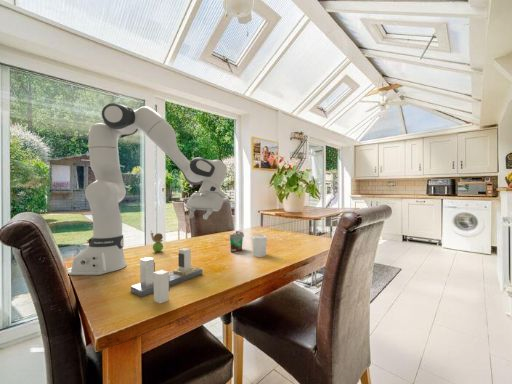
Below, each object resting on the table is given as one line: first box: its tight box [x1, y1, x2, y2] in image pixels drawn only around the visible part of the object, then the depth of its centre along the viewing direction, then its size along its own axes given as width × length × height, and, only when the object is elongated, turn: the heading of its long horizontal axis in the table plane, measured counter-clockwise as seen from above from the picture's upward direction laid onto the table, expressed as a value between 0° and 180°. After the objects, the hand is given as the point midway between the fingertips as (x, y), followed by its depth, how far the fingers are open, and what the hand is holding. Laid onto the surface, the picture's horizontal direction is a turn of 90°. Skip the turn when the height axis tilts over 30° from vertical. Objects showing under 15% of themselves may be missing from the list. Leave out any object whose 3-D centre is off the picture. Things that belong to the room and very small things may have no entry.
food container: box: [229, 230, 245, 253], centre depth 138 cm, size 12×6×10 cm, turn 168°
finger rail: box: [130, 256, 203, 298], centre depth 91 cm, size 26×7×11 cm, turn 145°
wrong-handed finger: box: [153, 269, 171, 305], centre depth 77 cm, size 4×4×9 cm
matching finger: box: [177, 247, 192, 272], centre depth 97 cm, size 4×4×9 cm
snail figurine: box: [150, 230, 164, 253], centre depth 135 cm, size 5×6×12 cm
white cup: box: [251, 234, 268, 258], centre depth 128 cm, size 8×8×10 cm
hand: (197, 218), depth 109 cm, fingers open, 8 cm apart
